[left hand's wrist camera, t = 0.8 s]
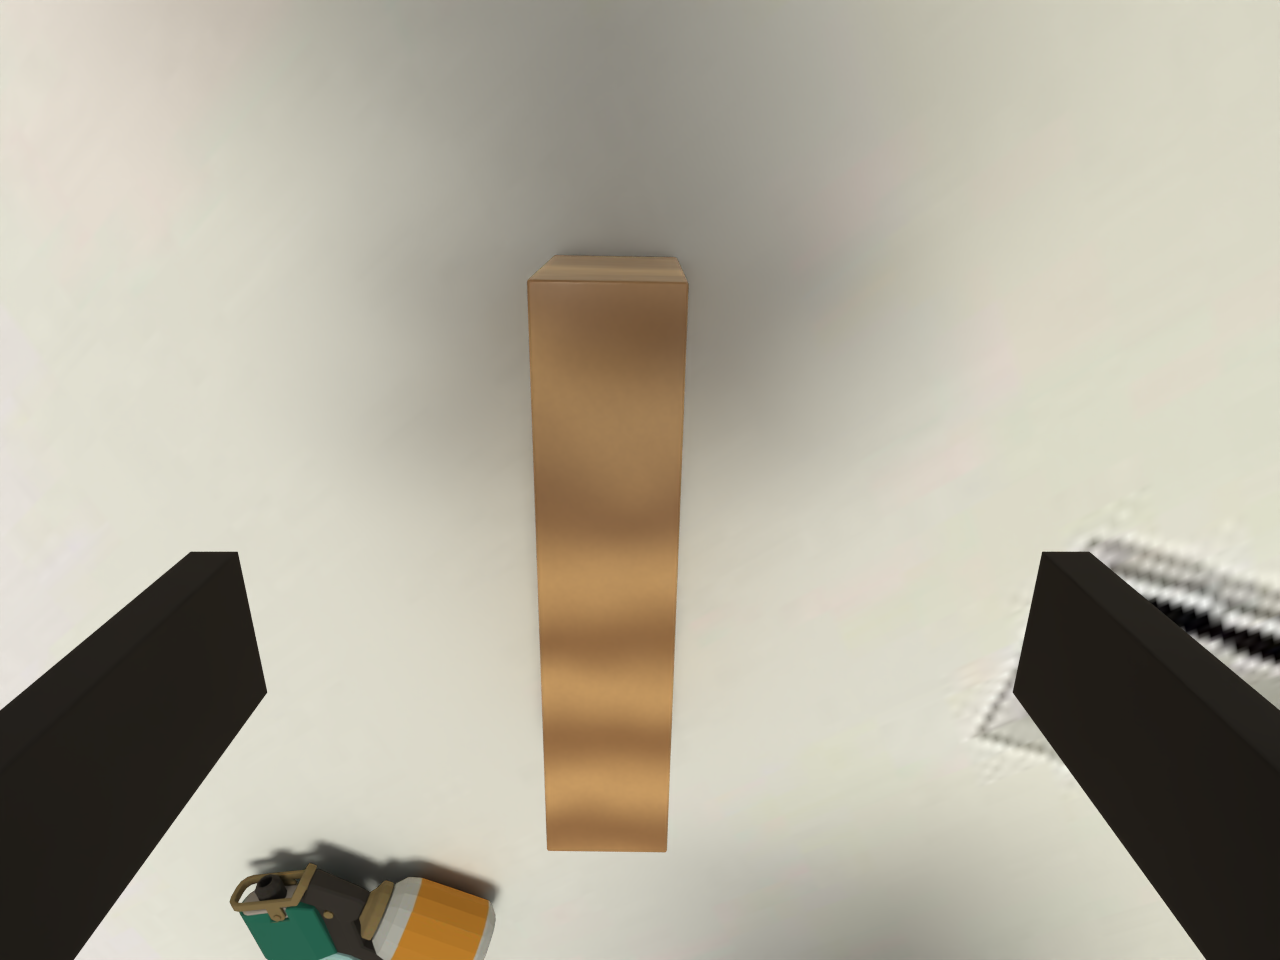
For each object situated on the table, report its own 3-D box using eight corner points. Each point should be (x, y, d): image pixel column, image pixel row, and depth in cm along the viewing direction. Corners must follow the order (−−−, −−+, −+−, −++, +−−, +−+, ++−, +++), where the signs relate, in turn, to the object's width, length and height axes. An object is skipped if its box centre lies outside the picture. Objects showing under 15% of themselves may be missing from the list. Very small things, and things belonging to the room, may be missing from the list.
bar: (553, 255, 31) (526, 279, 23) (677, 257, 31) (689, 282, 24) (564, 723, 39) (546, 851, 32) (661, 725, 39) (667, 853, 32)
